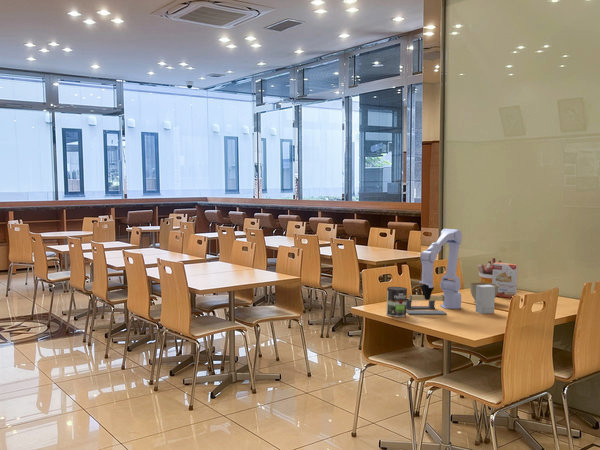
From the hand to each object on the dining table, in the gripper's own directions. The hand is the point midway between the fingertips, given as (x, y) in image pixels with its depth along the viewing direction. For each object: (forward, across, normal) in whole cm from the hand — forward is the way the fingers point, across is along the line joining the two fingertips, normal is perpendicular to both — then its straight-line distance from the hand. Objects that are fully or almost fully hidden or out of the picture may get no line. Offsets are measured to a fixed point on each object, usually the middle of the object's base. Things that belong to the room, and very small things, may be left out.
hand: (426, 299), depth 300 cm
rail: (+1, 0, 0) cm, 1 cm away
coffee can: (+8, +4, -17) cm, 19 cm away
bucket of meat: (+8, -80, +68) cm, 105 cm away
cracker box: (+8, -50, +64) cm, 82 cm away
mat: (+8, 0, 0) cm, 8 cm away
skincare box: (+8, -3, +33) cm, 34 cm away
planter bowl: (+8, -30, +43) cm, 53 cm away
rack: (+8, -12, 0) cm, 14 cm away
